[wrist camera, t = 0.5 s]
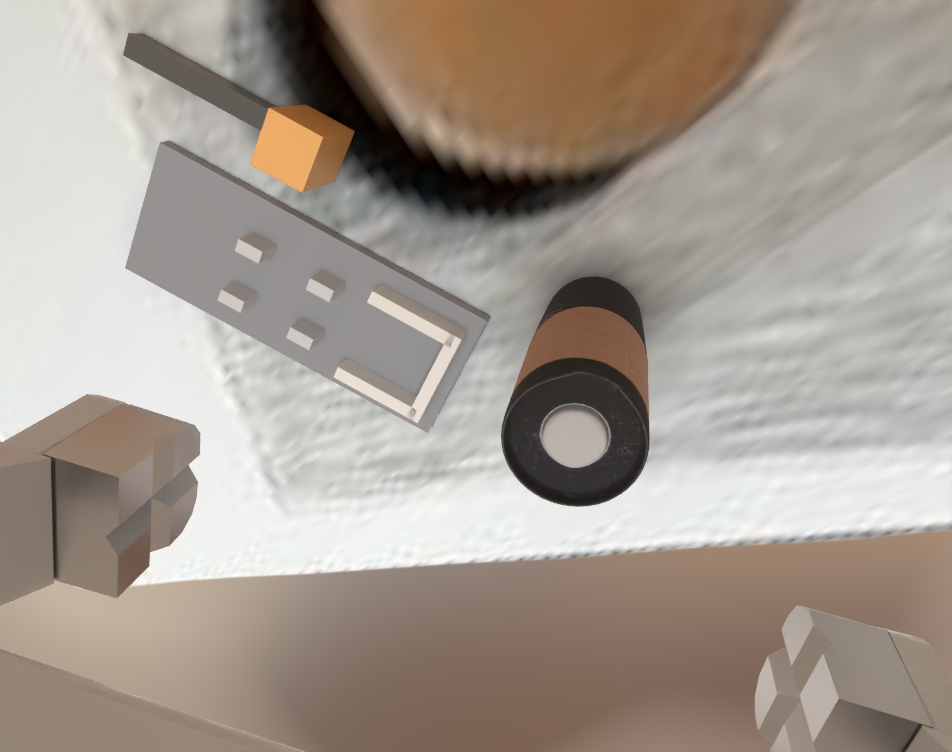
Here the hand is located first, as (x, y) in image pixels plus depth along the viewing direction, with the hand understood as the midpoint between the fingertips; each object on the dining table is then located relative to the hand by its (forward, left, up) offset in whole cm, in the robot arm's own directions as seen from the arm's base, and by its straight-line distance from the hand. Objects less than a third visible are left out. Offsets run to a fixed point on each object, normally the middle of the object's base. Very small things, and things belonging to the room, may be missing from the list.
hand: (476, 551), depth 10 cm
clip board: (+19, -16, -45) cm, 51 cm away
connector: (+8, -26, -45) cm, 52 cm away
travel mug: (+10, +5, -45) cm, 47 cm away
